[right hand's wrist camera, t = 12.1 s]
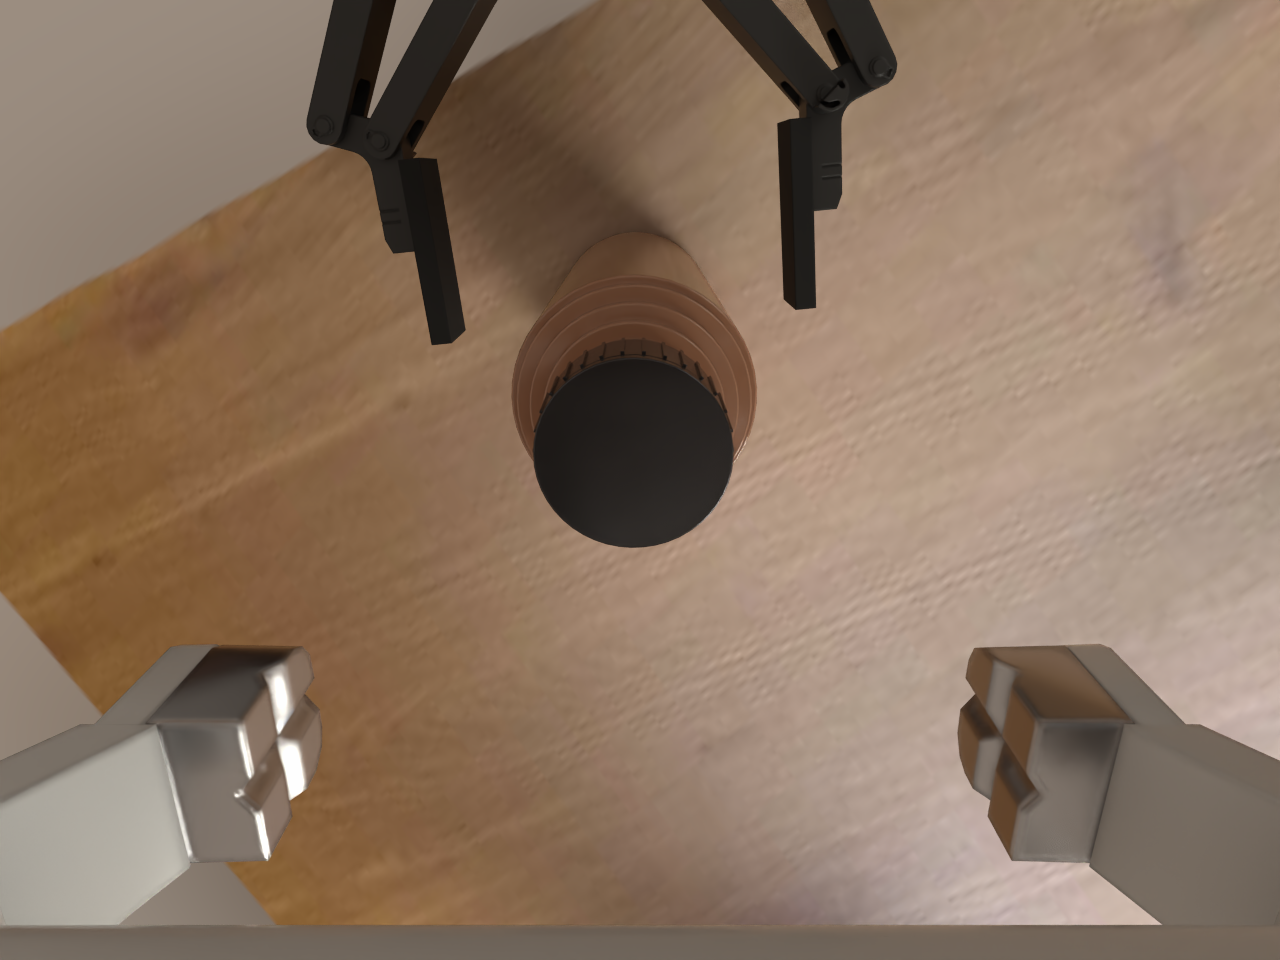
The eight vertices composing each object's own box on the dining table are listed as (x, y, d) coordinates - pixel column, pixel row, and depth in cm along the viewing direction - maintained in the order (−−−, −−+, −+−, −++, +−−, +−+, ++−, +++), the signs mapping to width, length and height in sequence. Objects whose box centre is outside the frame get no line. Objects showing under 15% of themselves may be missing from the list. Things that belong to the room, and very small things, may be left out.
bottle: (596, 206, 37) (549, 246, 17) (735, 270, 38) (837, 376, 18) (539, 346, 39) (441, 521, 20) (672, 403, 40) (704, 625, 21)
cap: (583, 304, 20) (577, 320, 18) (758, 382, 20) (772, 406, 18) (513, 473, 21) (500, 505, 19) (679, 540, 22) (683, 578, 20)
